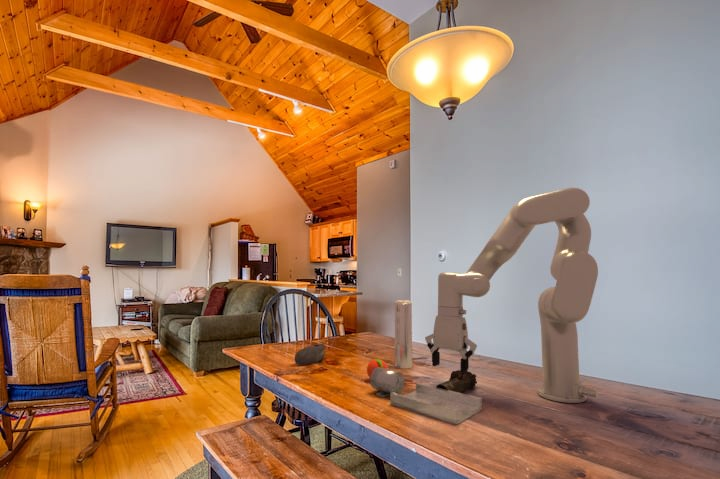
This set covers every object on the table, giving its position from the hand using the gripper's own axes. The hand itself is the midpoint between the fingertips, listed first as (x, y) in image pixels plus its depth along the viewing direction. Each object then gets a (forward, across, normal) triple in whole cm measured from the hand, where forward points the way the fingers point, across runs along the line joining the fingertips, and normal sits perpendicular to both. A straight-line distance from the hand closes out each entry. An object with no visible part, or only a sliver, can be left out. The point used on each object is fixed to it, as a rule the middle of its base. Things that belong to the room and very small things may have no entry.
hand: (449, 368), depth 116 cm
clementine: (+7, +22, +8) cm, 25 cm away
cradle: (+7, -5, +16) cm, 18 cm away
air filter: (+7, +27, -13) cm, 31 cm away
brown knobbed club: (+7, -2, 0) cm, 7 cm away
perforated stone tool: (+8, +57, +8) cm, 58 cm away
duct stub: (+7, +12, +16) cm, 21 cm away
